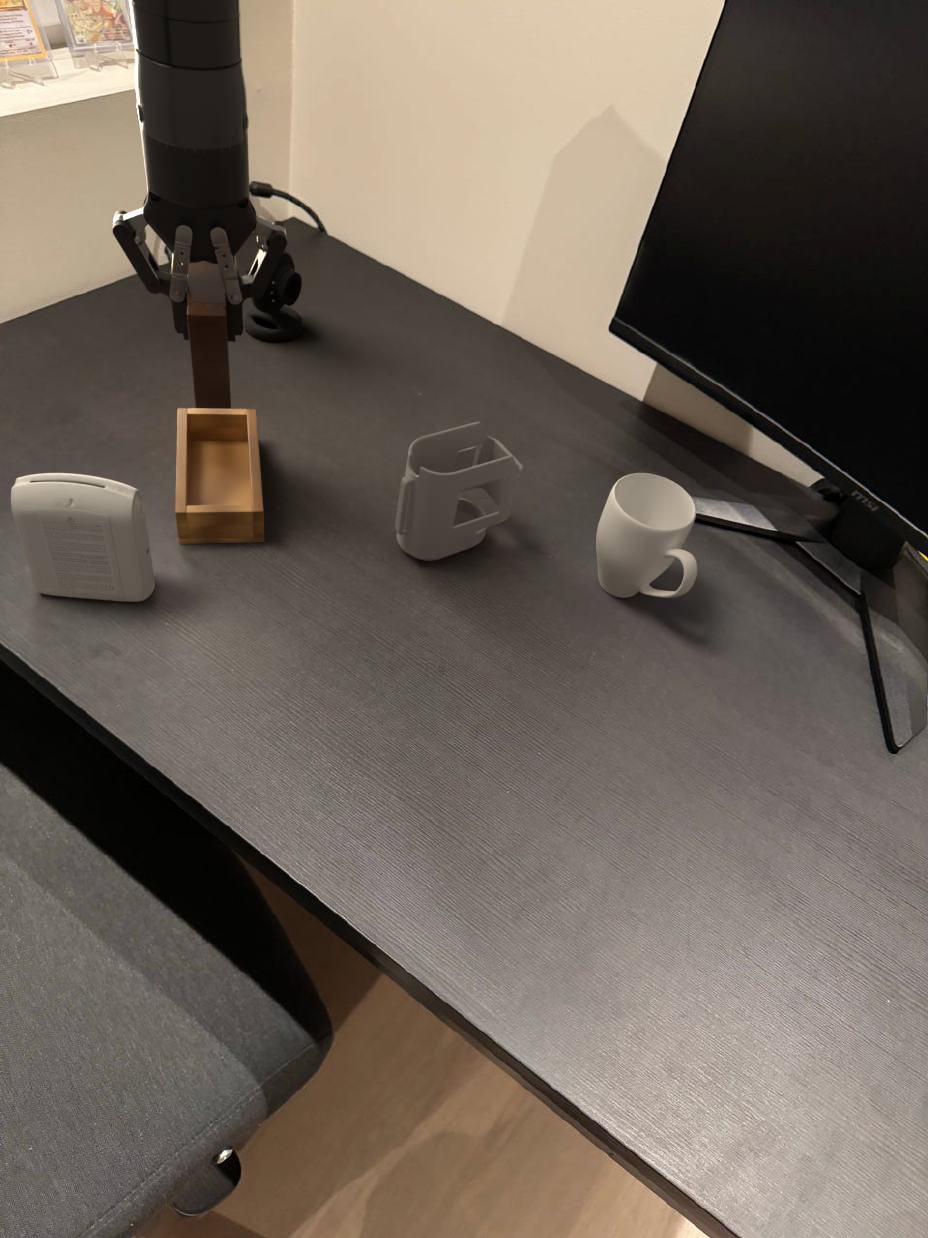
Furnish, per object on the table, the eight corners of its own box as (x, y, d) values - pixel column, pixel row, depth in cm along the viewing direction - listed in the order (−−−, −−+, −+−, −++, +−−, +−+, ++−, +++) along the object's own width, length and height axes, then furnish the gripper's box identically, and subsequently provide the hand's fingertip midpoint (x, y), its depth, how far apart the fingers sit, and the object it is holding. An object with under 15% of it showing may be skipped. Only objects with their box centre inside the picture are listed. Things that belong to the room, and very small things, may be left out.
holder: (179, 544, 81) (175, 512, 78) (180, 439, 91) (177, 407, 88) (264, 542, 83) (263, 511, 80) (257, 439, 93) (256, 408, 90)
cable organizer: (508, 541, 89) (533, 450, 80) (407, 577, 83) (423, 484, 74) (473, 502, 92) (494, 410, 83) (374, 534, 86) (385, 439, 77)
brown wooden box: (195, 408, 73) (186, 314, 67) (195, 344, 80) (187, 251, 73) (231, 408, 74) (226, 315, 67) (228, 345, 80) (223, 253, 74)
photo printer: (160, 572, 78) (144, 468, 69) (151, 607, 76) (133, 503, 66) (43, 563, 77) (11, 456, 68) (29, 598, 74) (-7, 491, 65)
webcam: (280, 350, 105) (280, 273, 97) (230, 328, 106) (226, 251, 99) (314, 324, 110) (316, 249, 102) (265, 303, 111) (264, 228, 104)
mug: (564, 563, 88) (595, 480, 80) (628, 547, 91) (664, 464, 83) (627, 649, 82) (667, 568, 73) (693, 627, 85) (739, 547, 77)
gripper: (289, 112, 65) (288, 316, 78) (93, 92, 62) (126, 309, 74) (296, 153, 60) (294, 363, 73) (85, 134, 57) (121, 358, 70)
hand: (209, 335), depth 74 cm, fingers closed on brown wooden box, 3 cm apart
